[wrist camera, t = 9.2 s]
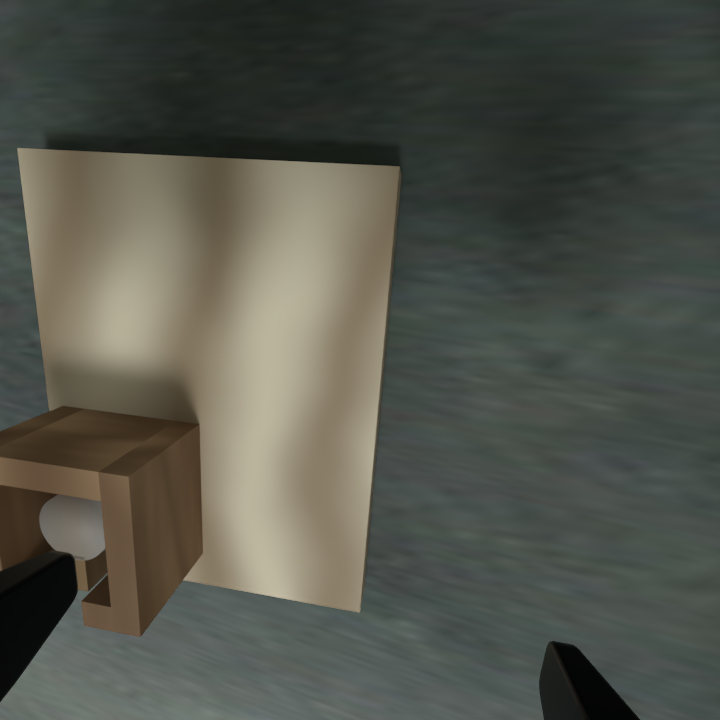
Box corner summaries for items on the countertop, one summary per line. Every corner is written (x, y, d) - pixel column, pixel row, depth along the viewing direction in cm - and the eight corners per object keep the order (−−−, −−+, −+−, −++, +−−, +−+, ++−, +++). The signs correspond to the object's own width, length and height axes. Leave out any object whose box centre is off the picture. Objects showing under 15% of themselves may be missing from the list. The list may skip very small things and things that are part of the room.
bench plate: (401, 174, 16) (392, 138, 11) (364, 587, 20) (346, 688, 16) (50, 157, 18) (-90, 118, 13) (90, 539, 22) (-1, 615, 18)
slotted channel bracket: (199, 424, 18) (128, 476, 14) (202, 553, 20) (140, 636, 15) (63, 405, 19) (-45, 449, 14) (77, 531, 20) (-16, 604, 16)
